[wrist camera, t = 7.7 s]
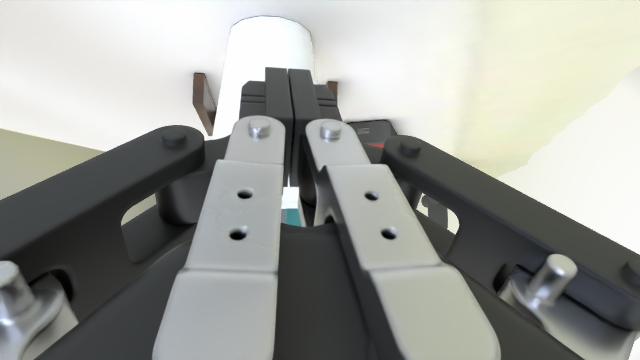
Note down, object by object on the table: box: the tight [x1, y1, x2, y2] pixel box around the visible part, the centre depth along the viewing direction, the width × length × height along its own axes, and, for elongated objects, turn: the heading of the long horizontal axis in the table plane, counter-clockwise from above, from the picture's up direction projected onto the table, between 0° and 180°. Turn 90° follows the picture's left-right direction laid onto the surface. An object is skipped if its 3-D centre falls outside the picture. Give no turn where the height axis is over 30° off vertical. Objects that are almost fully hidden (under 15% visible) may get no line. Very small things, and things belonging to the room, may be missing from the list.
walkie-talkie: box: [348, 120, 396, 148], centre depth 61 cm, size 9×4×20 cm
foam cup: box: [212, 16, 318, 209], centre depth 29 cm, size 10×9×13 cm
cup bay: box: [193, 73, 337, 136], centre depth 44 cm, size 13×14×3 cm
